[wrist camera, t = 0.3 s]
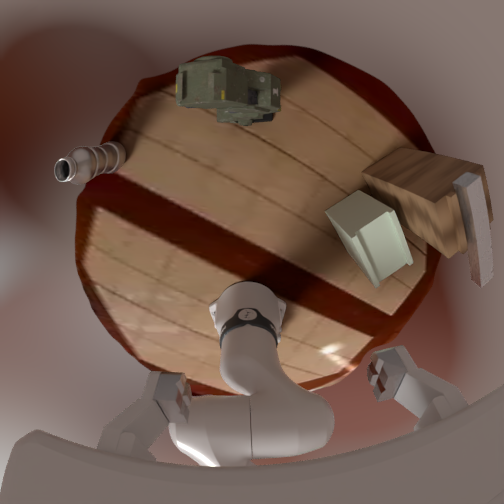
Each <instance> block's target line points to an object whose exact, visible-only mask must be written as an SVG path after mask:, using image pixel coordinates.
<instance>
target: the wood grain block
mask: <svg viewBox="0 0 504 504" xmlns="http://www.w3.org/2000/svg"><path fill="white" fill-rule="evenodd" d="M466 172H469V173H472V174H476V175H479V176H481V181H482V185H483V190H484V195H485V200H486V206H487V212H488V218H489V225H490V223H491V222H492V221H493V214H492V207H491V201H490V195H489V190H488V185H487V180H486V176H485V172H484V168H483V165H479V164H476V163H472V162H468V161H464V160H460V159H456V158H452V157H448V156H443V155H439V154H434V153H429V152H424V151H419V150H414V149H408V148H402V147H401V148H399V149H397V150H396V151H394V152H392V153H391V154H389V155H388V156H386V157H384V158H383V159H381V160H380V161H378V162H376V163H375V164H373V165H372V166H370V167H369V168H367V169H365V170H364V171H362V172H361V173H362V175H363V177H364V179H365V181H366V183H367V185H368V187H369V189H370V191H371V193H372V195H373V197H374V199H376V200H378V201H380V202H381V203H383V204H385V205H386V206H388V207H390V208H392V209H393V210H394V211H395V213H396V216H397V218H398V221H399V223H400V224H402V225H403V226H405V227H406V228H408V229H409V230H411V231H412V232H413V233H415V234H416V235H418V236H419V237H420V238H422V239H423V240H425V241H426V242H427V243H429V244H430V245H431V246H433V247H434V248H435V249H437V250H438V251H439V252H441V253H442V254H443V255H445V256H446V257H447V258H448V259H449V258H451V257H452V256H453V255H454V254H455V253H456V252H458V251H459V252H461V253H462V254H464V253H465V252H466V251H467V250H468V247H467V241H466V235H465V230H464V225H463V220H462V215H461V211H460V207H459V202H458V198H457V195H456V193H455V189H454V186H453V182H454V181H455V180H457V179H458V178H459V177H460V176H462V175H463V174H464V173H466Z"/></svg>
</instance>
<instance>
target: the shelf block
mask: <svg viewBox="0 0 504 504" xmlns="http://www.w3.org/2000/svg"><path fill="white" fill-rule="evenodd" d="M325 212H326V214H327V216H328V217H329V219H330V221H331V223H332V224H333V226H334V228H335V230H336V232H337V233H338V235H339V237H340V239H341V241H342V242H343V244H344V246H345V248H346V250H347V252H348V253H349V255H350V256H351V257H352V258H353V260H354V261H355V262H356V263H357V265H358V266H359V267H360V269H361V270H362V271H363V272H364V274H365V275H366V276H367V278H368V279H369V280H370V282H371V283H372V284H373V286H374V287H375V288H377V287H379V286H380V284H379V282H380V281H382V280H383V279H385V278H386V277H388V276H389V275H391V274H392V273H394V272H395V271H397V270H398V269H400V268H401V267H402V266H404V265H405V264H408V265H409V266H410V265H411V264H413V260H412V257H411V254H410V251H409V248H408V245H407V242H406V239H405V237H404V234H403V231H402V228H401V226H400V223H399V221H398V218H397V216H396V213H395V211H394V210H393V209H392V208H390V207H388V206H386V205H385V204H383V203H381V202H380V201H378V200H376V199H374V198H373V197H371V196H369V195H367V194H365V193H363V192H362V191H360V190H357V191H356V192H354V193H352V194H351V195H349V196H348V197H346V198H345V199H343V200H341V201H340V202H338V203H337V204H335V205H334V206H332V207H331V208H329V209H327V210H326V211H325Z"/></svg>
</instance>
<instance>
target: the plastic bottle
mask: <svg viewBox="0 0 504 504" xmlns="http://www.w3.org/2000/svg"><path fill="white" fill-rule="evenodd" d="M125 158H126V152H125V149H124V147H123V146H122V145H121V144H120V143H118V142H114V141H110V142H107V143H104V144H103V145H101V146H98V147H85V146H80V147H77V148H75V149H73V150H72V151H71V152H70V153H69V154H68V155H67V157H65V158H62V159H60V160H58V161H57V163H56V165H55V168H54V173H55V177H56V178H57V180H58V181H60V182H65V181H70V182H72V183H73V184H79V185H80V184H84V183H86V182H88V181H90V180H91V179H92V178H94V177H95V176H97V175H99V174H102V173H113V172H115V171H117V170H118V169H120V168H121V167H122V165H123V164H124V162H125Z"/></svg>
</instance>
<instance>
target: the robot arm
mask: <svg viewBox="0 0 504 504" xmlns="http://www.w3.org/2000/svg"><path fill="white" fill-rule="evenodd" d="M280 309H282V310H280ZM209 310H210V313H211V316H212V318H213V321H214V323H215V328H217V331H218V333H219V336H220V339H219V341H220V348H221V359H220V373H221V376H222V378H223V379H224V381H225V382H226V383H227V384H228V385H229V386H230V387H231V388H232V389H234V390H235V391H237V392H240V393H242V394H244V395H247V396H204V397H196V398H191V388H190V385H189V384H188V383H187V382H186V376H185V373H178V372H156V371H151V372H150V373H149V375H148V379H147V382H146V385H145V388H144V391H143V394H142V398H141V399H137V400H136V401H135V402H134V403H133V404H132V405H130V406H129V407H128V408H127V409H125V410H124V411H123V412H122V413H121V414H119V415H118V416H117V417H116V418H115V419H113V420H112V421H111V422H110V423H109V424H107V425H106V426H105V427H104V429H103V431H102V435H101V437H100V440H99V443H98V446H97V449H94V448H91V447H87V446H84V445H81V444H78V443H74V442H71V441H68V440H66V439H63V438H60V437H57V436H54V435H52V434H50V433H47V432H44V431H42V430H34V431H31V432H30V433H28V434H27V435H25V436H24V437H22V438H21V439H19V440H18V441H17V442H16V443H15V445H14V447H13V449H12V452H11V454H10V458H9V460H8V463H7V466H6V470H5V474H4V477H3V482H2V487H1V492H0V504H504V384H503V385H501V386H500V387H498V388H497V389H496V390H494V391H492V392H491V393H489V394H488V395H486V396H485V397H483V398H481V399H479V400H478V401H476V402H474V403H472V404H471V405H468V404H467V402H466V400H465V399H464V397H463V395H462V394H461V392H460V390H459V389H458V387H456V386H454V385H452V384H450V383H448V382H446V381H444V380H443V379H441V378H439V377H437V376H435V375H433V374H431V373H429V372H427V371H425V370H423V369H422V368H419V369H418V368H417V366H416V364H415V363H414V361H413V360H412V358H411V356H410V355H409V353H408V352H407V350H406V348H405V347H404V346H403V345H401V346H397V347H393V348H388V349H384V350H380V351H376V352H373V353H372V354H371V360H372V362H371V363H370V364H369V365H368V369H367V376H368V380H369V383H370V384H371V385H373V386H374V390H373V392H374V395H375V397H376V399H377V402H380V401H384V400H387V399H391V398H394V399H395V400H396V401H398V402H399V403H400V404H402V405H403V406H404V407H406V408H407V409H408V410H410V411H411V412H412V413H413V414H415V415H416V416H417V417H419V418H420V420H419V421H418V423H417V424H416V426H415V427H414V432H411V433H409V434H406V435H403V436H400V437H398V438H395V439H392V440H389V441H386V442H383V443H380V444H377V445H373V446H369V447H366V448H362V449H359V450H355V451H351V452H347V453H342V454H338V455H333V456H328V457H323V458H318V459H312V460H305V461H299V462H292V463H282V464H273V465H259V466H257V465H255V464H254V463H252V462H251V461H250V460H252V450H253V459H259V458H260V459H261V458H277V457H289V456H297V455H300V454H304V453H307V452H310V451H313V450H316V449H318V448H322V447H324V446H325V444H326V443H327V442H328V441H329V439H330V437H331V435H332V433H333V429H334V414H333V411H332V409H331V407H330V405H329V404H328V402H327V401H326V400H325V399H324V398H323V397H322V396H320V395H319V394H316V393H313V392H310V391H308V390H306V389H304V388H302V387H300V386H299V385H297V384H296V383H295V382H293V381H292V380H291V379H290V378H289V377H288V376H287V375H286V374H285V372H284V371H283V369H282V367H281V365H280V361H279V357H278V353H277V345H278V343H279V342H280V340H281V334H279V332H281V331H282V327H281V325H282V320H283V317H284V313H285V310H286V303H285V302H284V301H283V300H281V299H279V298H277V297H276V296H275V295H274V294H273V292H272V291H271V290H270V289H269V288H267V287H266V286H264V285H262V284H259V283H255V282H241V283H237V284H234V285H232V286H230V287H229V288H227V289H226V290H225V291H224V292H223V293H222V295H221V296H220V297H219V299H218V300H216V301H214V302H213V303H211V304H210V306H209ZM214 311H215V312H214ZM250 403H251V407H250ZM168 425H169V432H170V436H171V438H172V440H173V442H174V444H175V445H176V446H177V448H178V449H179V450H180V451H181V452H183V453H185V454H186V455H188V456H189V457H191V458H192V459H193V460H195V461H196V462H197V463H198V464H200V465H201V466H195V465H182V464H173V463H164V462H156V458H155V456H154V455H153V454H152V453H151V452H150V451H149V450H148V448H149V447H150V446H151V445H152V443H153V442H154V441H155V440H156V439H157V438H158V437H159V436H160V434H161V433H162V432H163V431H164V430H165V429H166V427H167V426H168Z"/></svg>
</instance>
